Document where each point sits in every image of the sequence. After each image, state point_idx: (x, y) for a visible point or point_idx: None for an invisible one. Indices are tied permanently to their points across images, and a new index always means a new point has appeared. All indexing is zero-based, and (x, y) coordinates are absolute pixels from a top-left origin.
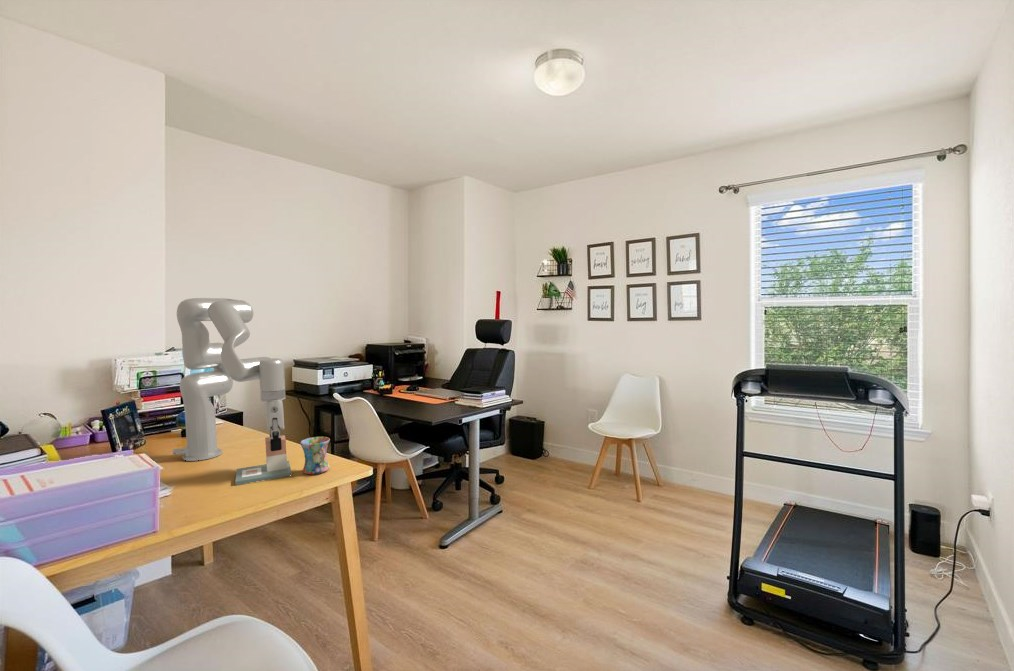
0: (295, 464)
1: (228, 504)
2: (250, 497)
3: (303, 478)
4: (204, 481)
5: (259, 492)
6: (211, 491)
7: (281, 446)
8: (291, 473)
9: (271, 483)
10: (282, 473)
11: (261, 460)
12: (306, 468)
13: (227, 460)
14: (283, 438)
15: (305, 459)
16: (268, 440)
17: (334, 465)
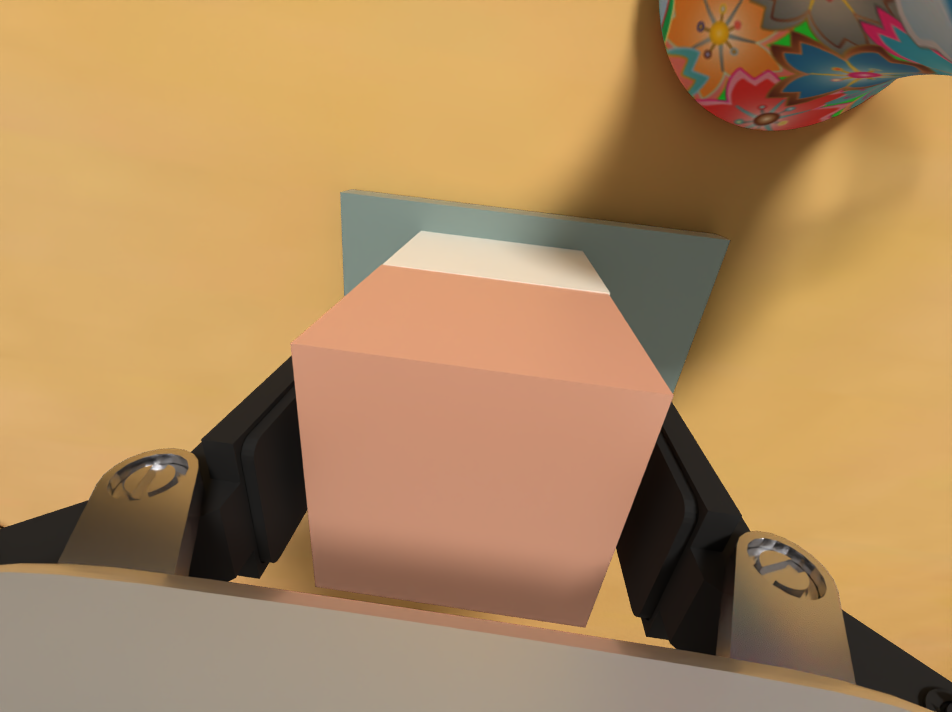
0: (397, 136)
1: (886, 585)
2: (896, 508)
3: (882, 155)
4: None
5: (861, 464)
6: (609, 604)
7: (673, 408)
8: (723, 238)
9: (754, 384)
10: (691, 309)
11: (154, 350)
12: (860, 94)
13: (87, 496)
14: (572, 413)
15: (890, 78)
16: (525, 591)
17: None
